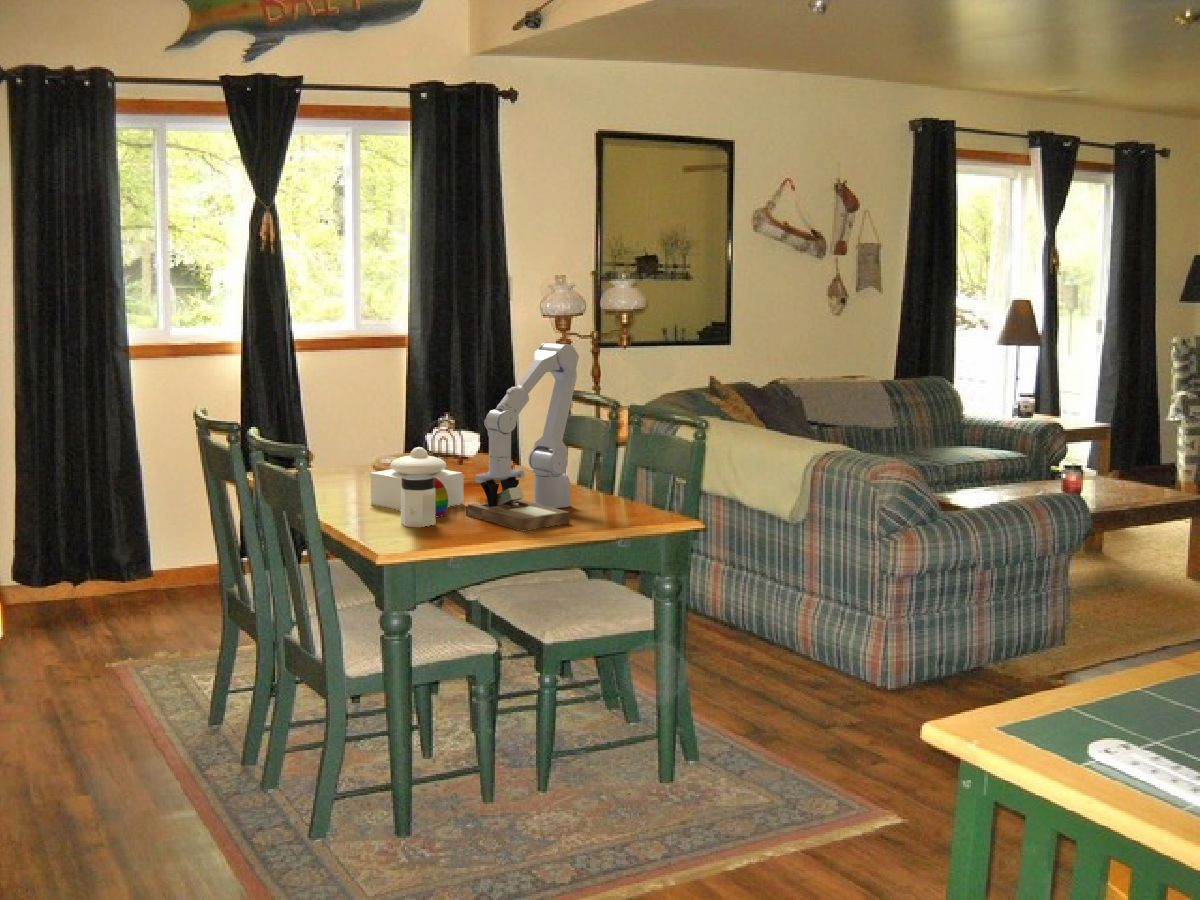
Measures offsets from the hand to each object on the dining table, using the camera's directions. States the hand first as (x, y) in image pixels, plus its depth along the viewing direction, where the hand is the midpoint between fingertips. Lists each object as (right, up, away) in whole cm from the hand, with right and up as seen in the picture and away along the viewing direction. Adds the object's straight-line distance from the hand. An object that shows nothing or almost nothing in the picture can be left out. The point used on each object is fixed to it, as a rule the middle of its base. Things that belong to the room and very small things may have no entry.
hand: (499, 507), depth 347 cm
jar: (-19, -4, -13) cm, 24 cm away
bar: (+2, +1, -2) cm, 3 cm away
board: (+5, -3, -5) cm, 8 cm away
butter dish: (-23, 0, +11) cm, 26 cm away
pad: (+9, -1, -11) cm, 14 cm away
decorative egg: (-17, -2, -2) cm, 18 cm away
